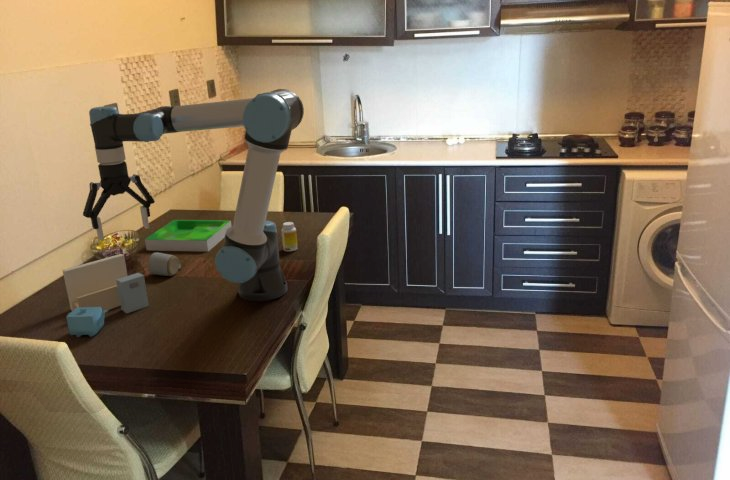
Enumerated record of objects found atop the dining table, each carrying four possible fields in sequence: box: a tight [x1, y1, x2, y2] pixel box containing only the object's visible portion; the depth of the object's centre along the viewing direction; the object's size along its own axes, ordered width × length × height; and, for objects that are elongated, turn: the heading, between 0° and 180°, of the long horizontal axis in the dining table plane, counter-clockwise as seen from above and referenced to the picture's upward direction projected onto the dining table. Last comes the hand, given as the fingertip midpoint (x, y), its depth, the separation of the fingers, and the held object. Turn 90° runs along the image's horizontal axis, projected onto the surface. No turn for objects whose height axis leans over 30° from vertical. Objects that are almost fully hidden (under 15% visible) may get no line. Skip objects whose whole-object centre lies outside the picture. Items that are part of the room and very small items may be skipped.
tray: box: [144, 219, 232, 253], centre depth 247 cm, size 25×25×5 cm
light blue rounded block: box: [65, 307, 110, 338], centre depth 173 cm, size 12×6×8 cm, turn 90°
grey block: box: [116, 272, 150, 314], centre depth 186 cm, size 4×7×10 cm, turn 134°
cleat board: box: [62, 253, 129, 312], centre depth 189 cm, size 9×18×13 cm, turn 134°
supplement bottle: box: [280, 221, 299, 252], centre depth 231 cm, size 6×6×10 cm
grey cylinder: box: [147, 251, 181, 277], centre depth 214 cm, size 11×8×8 cm
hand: (124, 233), depth 183 cm, fingers open, 13 cm apart
